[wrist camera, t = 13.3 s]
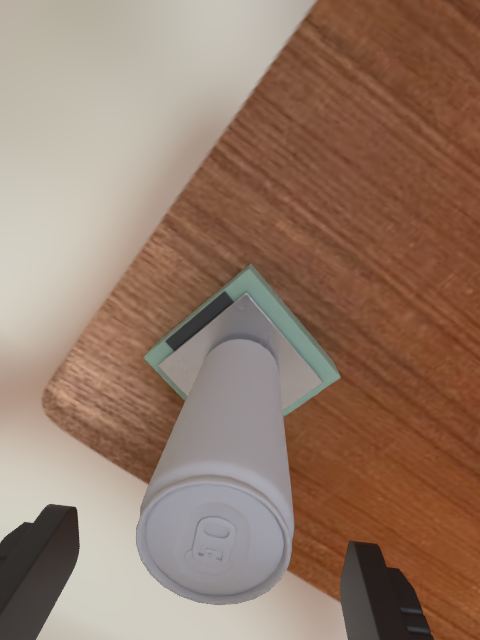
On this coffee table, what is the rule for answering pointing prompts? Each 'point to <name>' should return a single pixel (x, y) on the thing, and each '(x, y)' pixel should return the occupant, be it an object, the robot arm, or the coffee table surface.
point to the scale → (273, 307)
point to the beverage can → (222, 484)
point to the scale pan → (248, 324)
